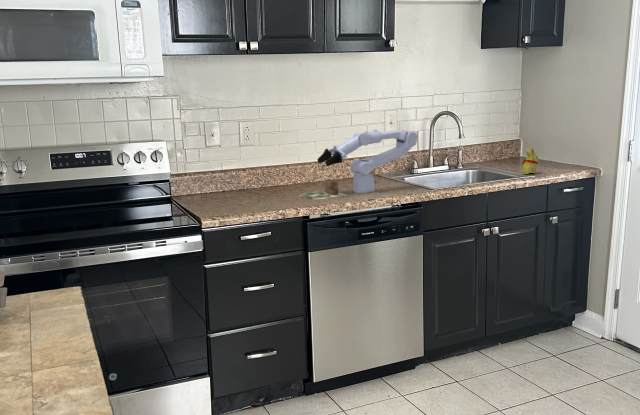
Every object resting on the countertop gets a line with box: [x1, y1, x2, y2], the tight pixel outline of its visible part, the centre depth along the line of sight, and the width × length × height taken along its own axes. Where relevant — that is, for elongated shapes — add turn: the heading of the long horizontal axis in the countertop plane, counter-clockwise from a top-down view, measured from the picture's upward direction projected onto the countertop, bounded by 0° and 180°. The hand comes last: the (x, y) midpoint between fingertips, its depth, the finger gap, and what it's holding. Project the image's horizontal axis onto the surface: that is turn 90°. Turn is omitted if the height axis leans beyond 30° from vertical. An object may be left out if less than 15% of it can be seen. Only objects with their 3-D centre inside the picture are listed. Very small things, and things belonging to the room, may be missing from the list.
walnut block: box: [324, 180, 339, 195], centre depth 295 cm, size 4×4×6 cm
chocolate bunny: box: [521, 145, 539, 174], centre depth 340 cm, size 7×11×15 cm, turn 123°
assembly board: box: [298, 190, 348, 201], centre depth 293 cm, size 18×14×2 cm
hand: (322, 162), depth 288 cm, fingers open, 7 cm apart
